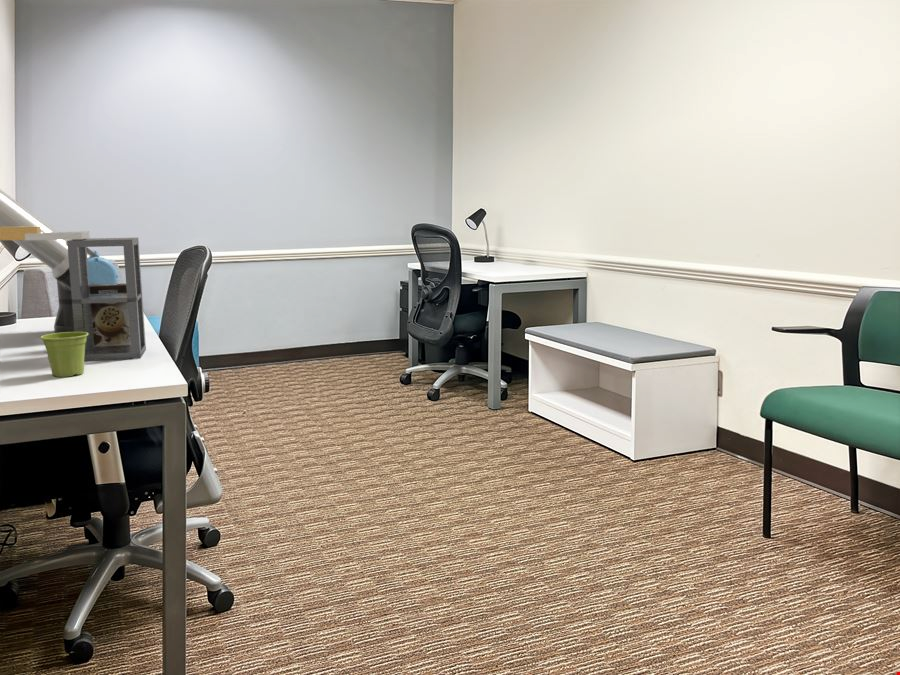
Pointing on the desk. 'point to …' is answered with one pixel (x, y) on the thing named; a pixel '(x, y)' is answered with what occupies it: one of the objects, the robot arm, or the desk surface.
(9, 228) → the blanking panel
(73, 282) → the rack
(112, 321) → the coffee box
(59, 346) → the plant pot
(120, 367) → the desk surface
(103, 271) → the robot arm
